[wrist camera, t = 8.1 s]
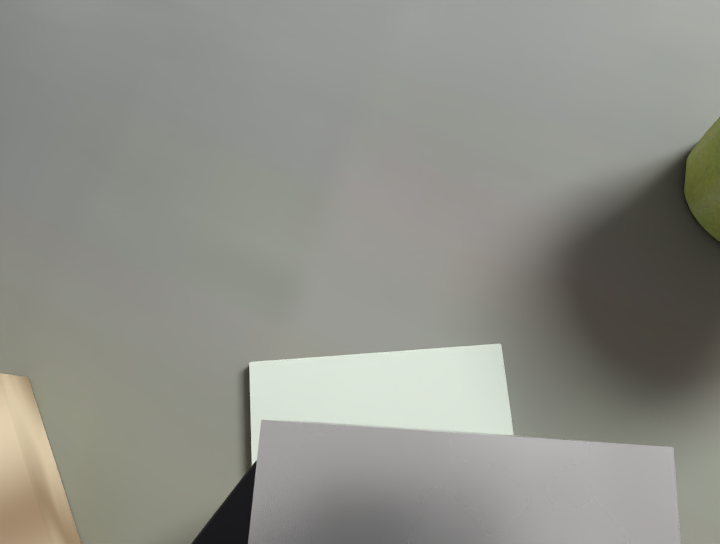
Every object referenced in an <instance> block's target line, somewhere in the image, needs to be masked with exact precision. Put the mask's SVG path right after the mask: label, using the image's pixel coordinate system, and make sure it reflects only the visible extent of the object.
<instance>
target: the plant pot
mask: <svg viewBox="0 0 720 544" xmlns="http://www.w3.org/2000/svg"><path fill="white" fill-rule="evenodd" d="M684 194H685V197H686V201H687V203H688V206H689V208H690V210H691V212H692V213H693V215H694V217H695V218H696V220H697V221H698V222H699V223H700V225H701V226H702V227H703V228H704V229H705V230H706V231H707V232H708V233H709V234H710V235H712V236H713V237H714V238H715V239H717V240H718V241H719V242H720V117H719V119H718V120H717V121H716V122H715V123H714V124H713V125H712V126H711V127H710V129H709V130H708V131H707V132H706V133H705V135H704V136H703V137H702V138H701V140H700V141H699V142H698V143H697V144H696V146H695V147H694V148H693V149H692V151H691V152H690V154H689V156H688V158H687V161H686V175H685V186H684Z"/></svg>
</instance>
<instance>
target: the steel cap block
mask: <svg viewBox="0 0 720 544" xmlns="http://www.w3.org/2000/svg"><path fill="white" fill-rule="evenodd" d="M248 544H681V541H680V528H679V515H678V502H677V489H676V476H675V463H674V450H673V447H664V446H650V445H637V444H624V443H610V442H597V441H584V440H571V439H557V438H544V437H531V436H518V435H504V434H491V433H477V432H462V431H447V430H432V429H416V428H401V427H386V426H371V425H356V424H341V423H326V422H308V421H278V420H261V426H260V436H259V445H258V454H257V464H256V473H255V483H254V492H253V502H252V511H251V520H250V530H249V539H248Z"/></svg>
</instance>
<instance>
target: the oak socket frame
mask: <svg viewBox="0 0 720 544" xmlns="http://www.w3.org/2000/svg"><path fill="white" fill-rule="evenodd" d="M0 544H81V541H80V538H79V535H78V532H77V528H76V525H75V522H74V519H73V516H72V513H71V510H70V507H69V504H68V500H67V497H66V494H65V491H64V488H63V485H62V482H61V479H60V476H59V472H58V469H57V466H56V463H55V460H54V457H53V454H52V451H51V448H50V444H49V441H48V438H47V435H46V432H45V429H44V426H43V423H42V420H41V416H40V413H39V410H38V407H37V404H36V401H35V398H34V395H33V392H32V388H31V385H30V382H29V379H28V377H22V376H15V375H7V374H0Z"/></svg>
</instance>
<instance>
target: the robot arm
mask: <svg viewBox="0 0 720 544" xmlns="http://www.w3.org/2000/svg"><path fill="white" fill-rule="evenodd" d="M256 464H257V460H256V461H255V462H254V464H253V465H252V466H251V467H250V469H249V470H248V471H247V473H246V474H245V475H244V476H243V478H242V479H241V480H240V482H239V483H238V484H237V485H236V487H235V488H234V489H233V491H232V492H231V493H230V494H229V496H228V497H227V498H226V500H225V501H224V502H223V503H222V505H221V506H220V507H219V509H218V510H217V511H216V512H215V514H214V515H213V516H212V518H211V519H210V520H209V521H208V523H207V524H206V525H205V527H204V528H203V529H202V530H201V532H200V533H199V534H198V536H197V537H196V538H195V539H194V541H193V542H192V543H191V544H248V539H249V530H250V520H251V511H252V502H253V492H254V483H255V473H256Z"/></svg>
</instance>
